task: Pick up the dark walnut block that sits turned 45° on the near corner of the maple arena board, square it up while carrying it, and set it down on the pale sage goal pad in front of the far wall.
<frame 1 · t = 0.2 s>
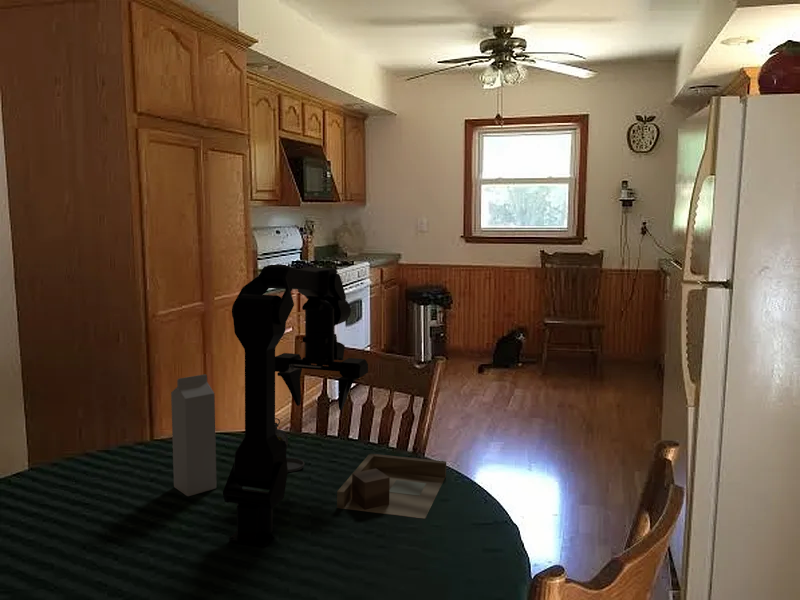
hand: (319, 407, 136), 14 cm above the table, fingers open, 9 cm apart
arena board: (394, 495, 129), on the table
walnut block: (370, 501, 123), point 1 cm above the table, touching arena board
pocket watch: (284, 467, 143), on the table
milk: (195, 488, 131), on the table
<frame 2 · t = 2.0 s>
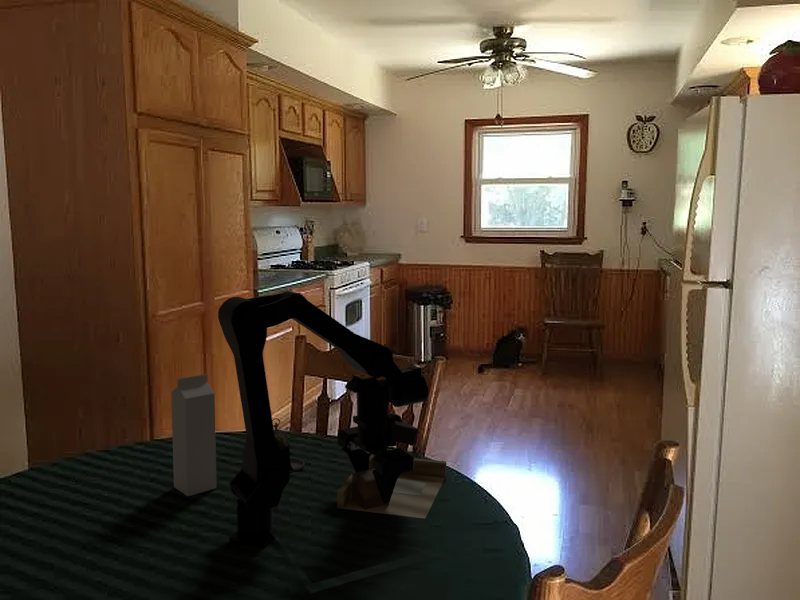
hand: (375, 494, 124), 2 cm above the table, fingers open, 8 cm apart
nothing on the table moved.
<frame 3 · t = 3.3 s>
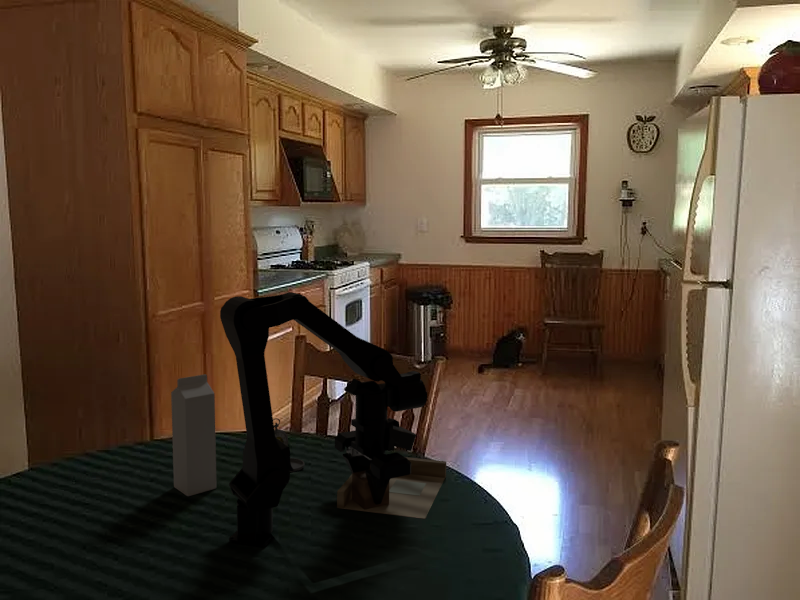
hand: (370, 498, 123), 2 cm above the table, fingers closed on walnut block, 5 cm apart
walnut block: (370, 501, 123), point 1 cm above the table, touching gripper
everything else where it was.
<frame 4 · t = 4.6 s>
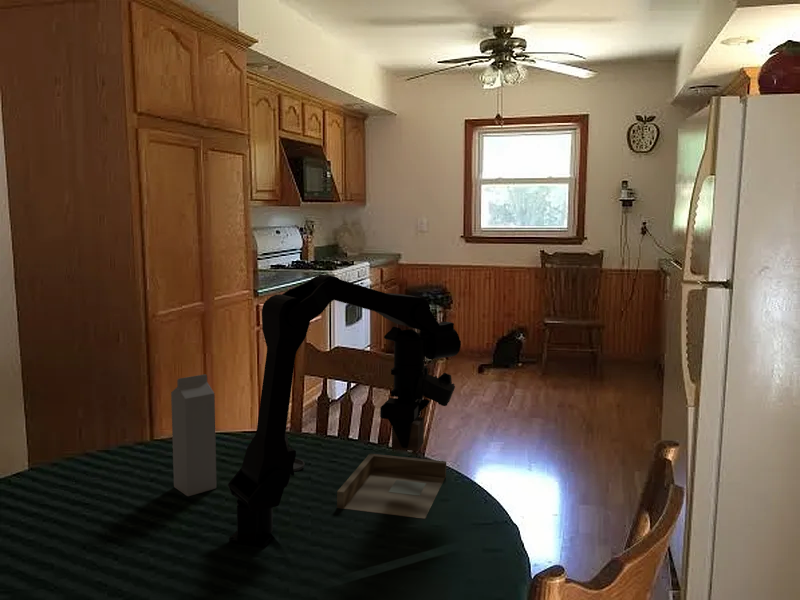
hand: (408, 442, 129), 10 cm above the table, fingers closed on walnut block, 5 cm apart
walnut block: (407, 445, 129), point 9 cm above the table, touching gripper
everything else where it was.
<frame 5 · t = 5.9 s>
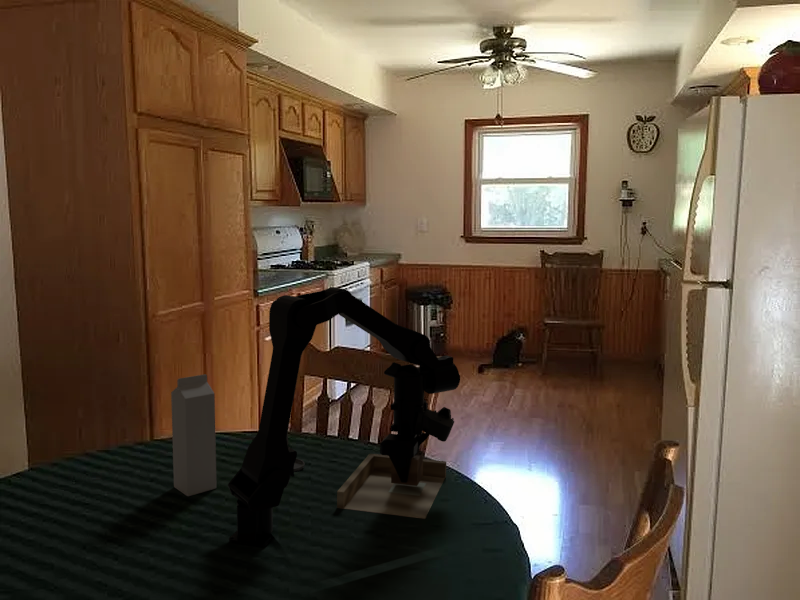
hand: (407, 476, 130), 3 cm above the table, fingers closed on walnut block, 5 cm apart
walnut block: (407, 479, 130), point 3 cm above the table, touching gripper
everything else where it was.
when the fingers open (3 cm above the table, at t = 6.5 s): walnut block drops 2 cm, resting on arena board.
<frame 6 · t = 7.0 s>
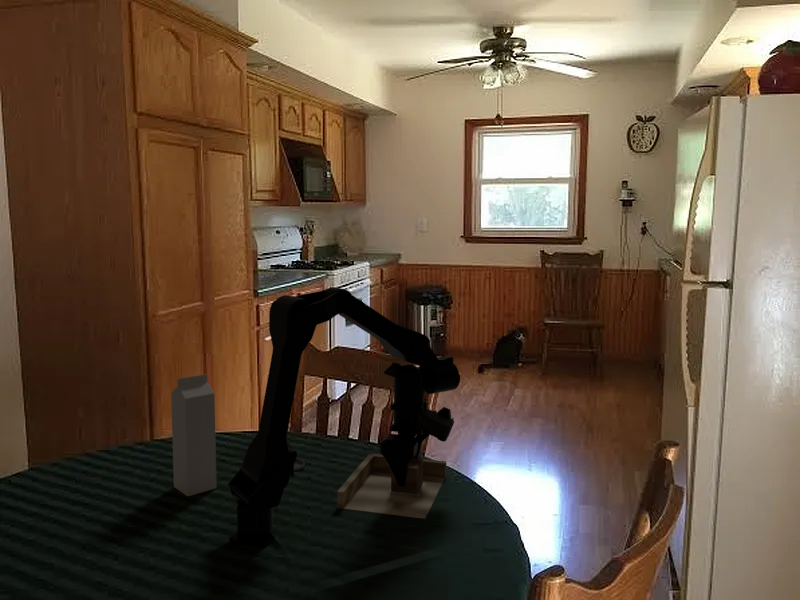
hand: (407, 476, 130), 3 cm above the table, fingers open, 9 cm apart
walnut block: (407, 487, 130), point 1 cm above the table, touching arena board
everything else where it was.
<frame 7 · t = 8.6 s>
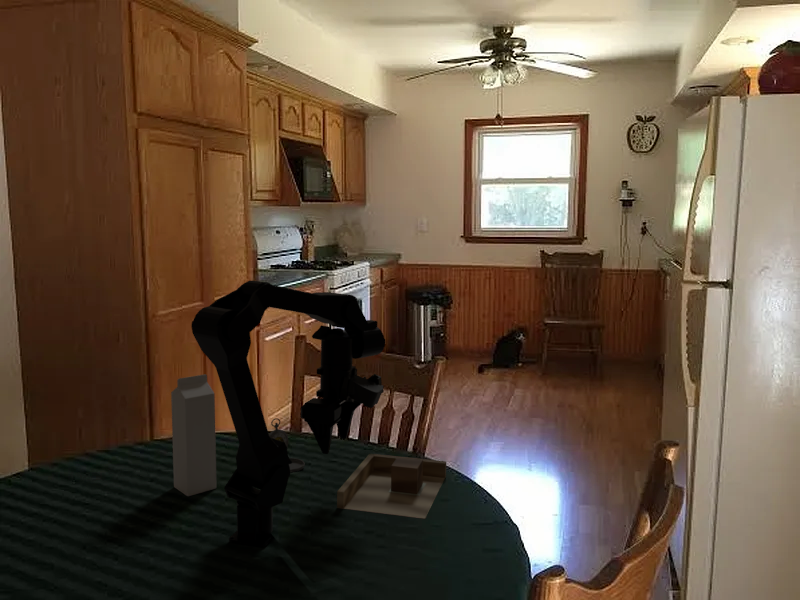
hand: (334, 445, 125), 11 cm above the table, fingers open, 9 cm apart
nothing on the table moved.
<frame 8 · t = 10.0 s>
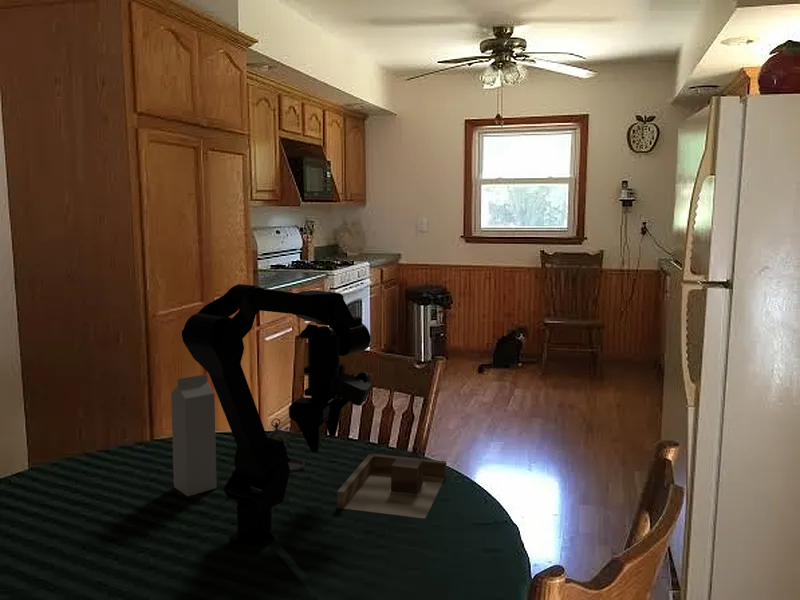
hand: (324, 443, 124), 11 cm above the table, fingers open, 9 cm apart
nothing on the table moved.
at the end: walnut block 0.1 cm from the target spot, point 1.1 cm above the table; walnut block tilted 0°; the gripper is holding nothing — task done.
